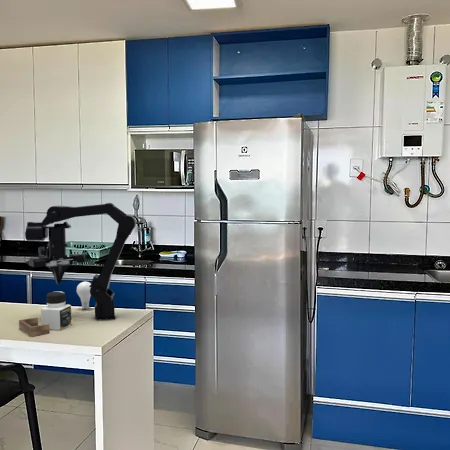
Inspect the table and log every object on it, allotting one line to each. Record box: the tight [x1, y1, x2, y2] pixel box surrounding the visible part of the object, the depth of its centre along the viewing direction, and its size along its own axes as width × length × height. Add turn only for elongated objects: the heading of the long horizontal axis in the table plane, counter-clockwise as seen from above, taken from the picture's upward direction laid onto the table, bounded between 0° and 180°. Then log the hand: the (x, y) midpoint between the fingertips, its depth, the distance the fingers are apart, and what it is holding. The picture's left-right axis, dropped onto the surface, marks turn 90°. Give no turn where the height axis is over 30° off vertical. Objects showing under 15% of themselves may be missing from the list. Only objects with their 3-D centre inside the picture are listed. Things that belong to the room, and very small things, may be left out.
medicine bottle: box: [40, 290, 72, 331], centre depth 162 cm, size 7×7×12 cm
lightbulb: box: [76, 281, 92, 310], centre depth 186 cm, size 6×6×11 cm
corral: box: [18, 316, 51, 338], centre depth 157 cm, size 6×12×3 cm, turn 40°
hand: (58, 283), depth 171 cm, fingers closed
